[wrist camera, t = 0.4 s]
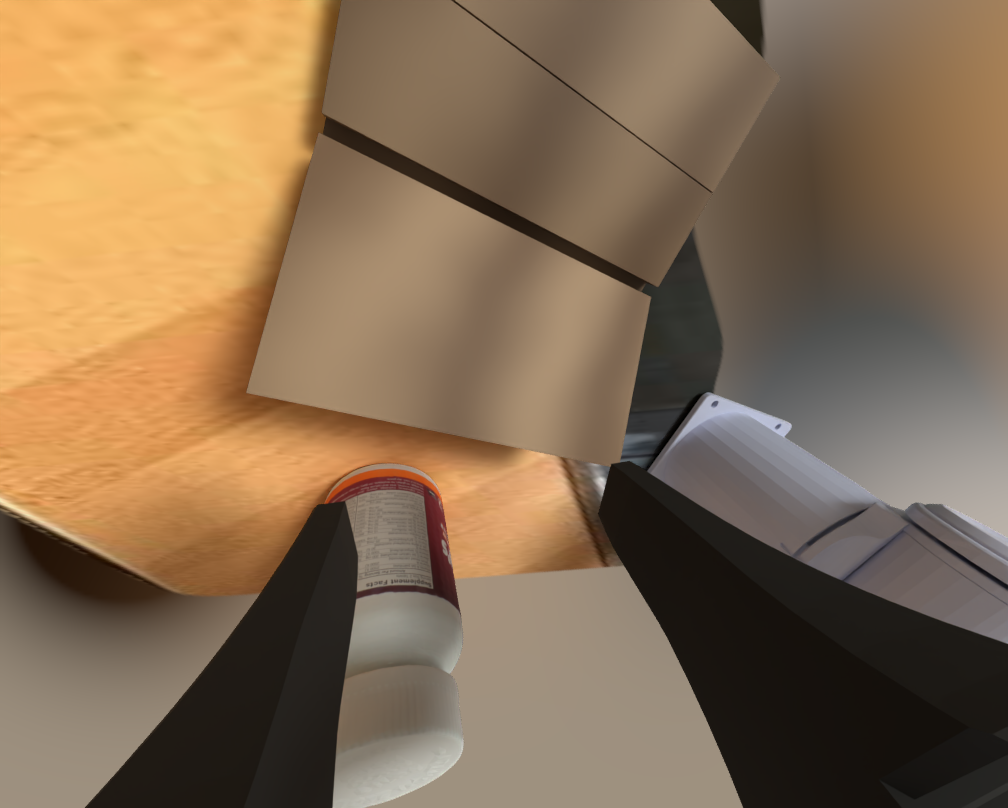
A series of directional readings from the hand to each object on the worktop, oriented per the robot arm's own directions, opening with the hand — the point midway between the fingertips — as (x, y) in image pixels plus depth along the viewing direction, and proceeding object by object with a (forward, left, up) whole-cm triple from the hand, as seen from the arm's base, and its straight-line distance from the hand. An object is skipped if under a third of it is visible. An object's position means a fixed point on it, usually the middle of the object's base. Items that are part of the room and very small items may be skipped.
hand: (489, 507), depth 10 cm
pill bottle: (+1, +9, -9) cm, 12 cm away
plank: (0, -3, -7) cm, 7 cm away
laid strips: (0, -11, -9) cm, 14 cm away
